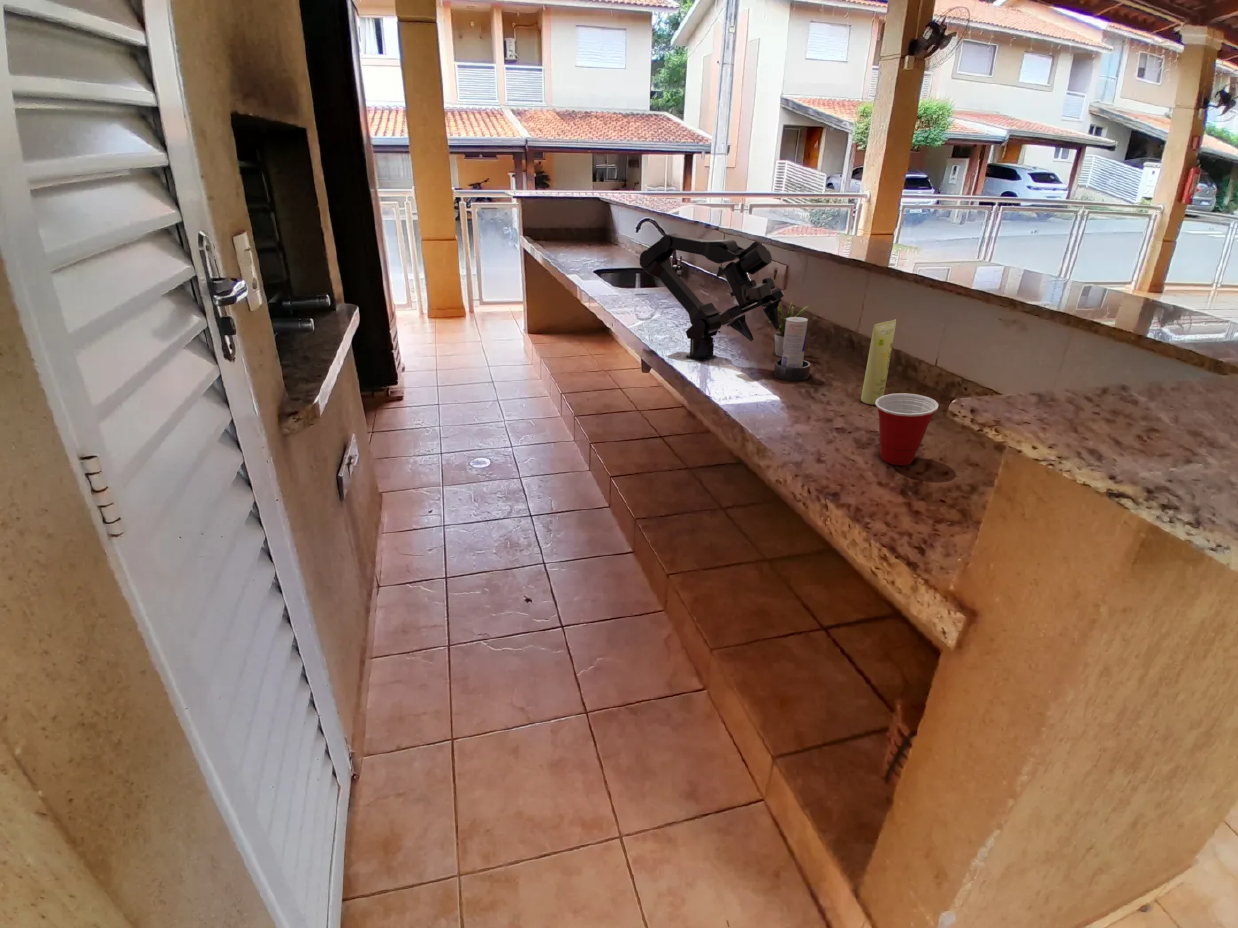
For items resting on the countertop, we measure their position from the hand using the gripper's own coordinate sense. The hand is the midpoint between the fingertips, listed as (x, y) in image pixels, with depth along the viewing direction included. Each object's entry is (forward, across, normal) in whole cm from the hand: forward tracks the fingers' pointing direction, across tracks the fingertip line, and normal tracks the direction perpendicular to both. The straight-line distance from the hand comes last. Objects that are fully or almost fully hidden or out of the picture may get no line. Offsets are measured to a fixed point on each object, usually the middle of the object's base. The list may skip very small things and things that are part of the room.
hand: (765, 334), depth 168 cm
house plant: (+6, +12, +15) cm, 20 cm away
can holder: (+13, +1, -1) cm, 13 cm away
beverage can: (+13, +1, -1) cm, 13 cm away
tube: (+28, +3, -22) cm, 35 cm away
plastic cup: (+37, -19, -45) cm, 61 cm away
